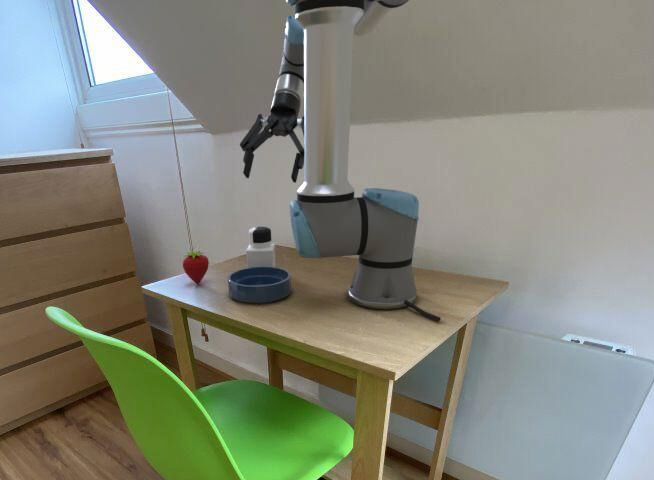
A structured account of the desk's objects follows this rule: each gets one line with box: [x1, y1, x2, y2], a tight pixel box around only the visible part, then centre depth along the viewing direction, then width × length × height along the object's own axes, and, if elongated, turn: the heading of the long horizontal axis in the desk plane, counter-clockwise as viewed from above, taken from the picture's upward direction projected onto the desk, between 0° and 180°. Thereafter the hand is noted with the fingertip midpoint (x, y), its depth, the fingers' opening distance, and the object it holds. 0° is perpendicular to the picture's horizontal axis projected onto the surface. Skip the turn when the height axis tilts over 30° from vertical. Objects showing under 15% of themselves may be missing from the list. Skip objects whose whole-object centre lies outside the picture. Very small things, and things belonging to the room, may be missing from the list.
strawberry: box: [182, 247, 210, 285], centre depth 113 cm, size 6×8×10 cm
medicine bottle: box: [245, 226, 277, 268], centre depth 118 cm, size 7×7×12 cm
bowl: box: [227, 266, 292, 304], centre depth 106 cm, size 15×15×4 cm
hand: (269, 177), depth 116 cm, fingers open, 13 cm apart
